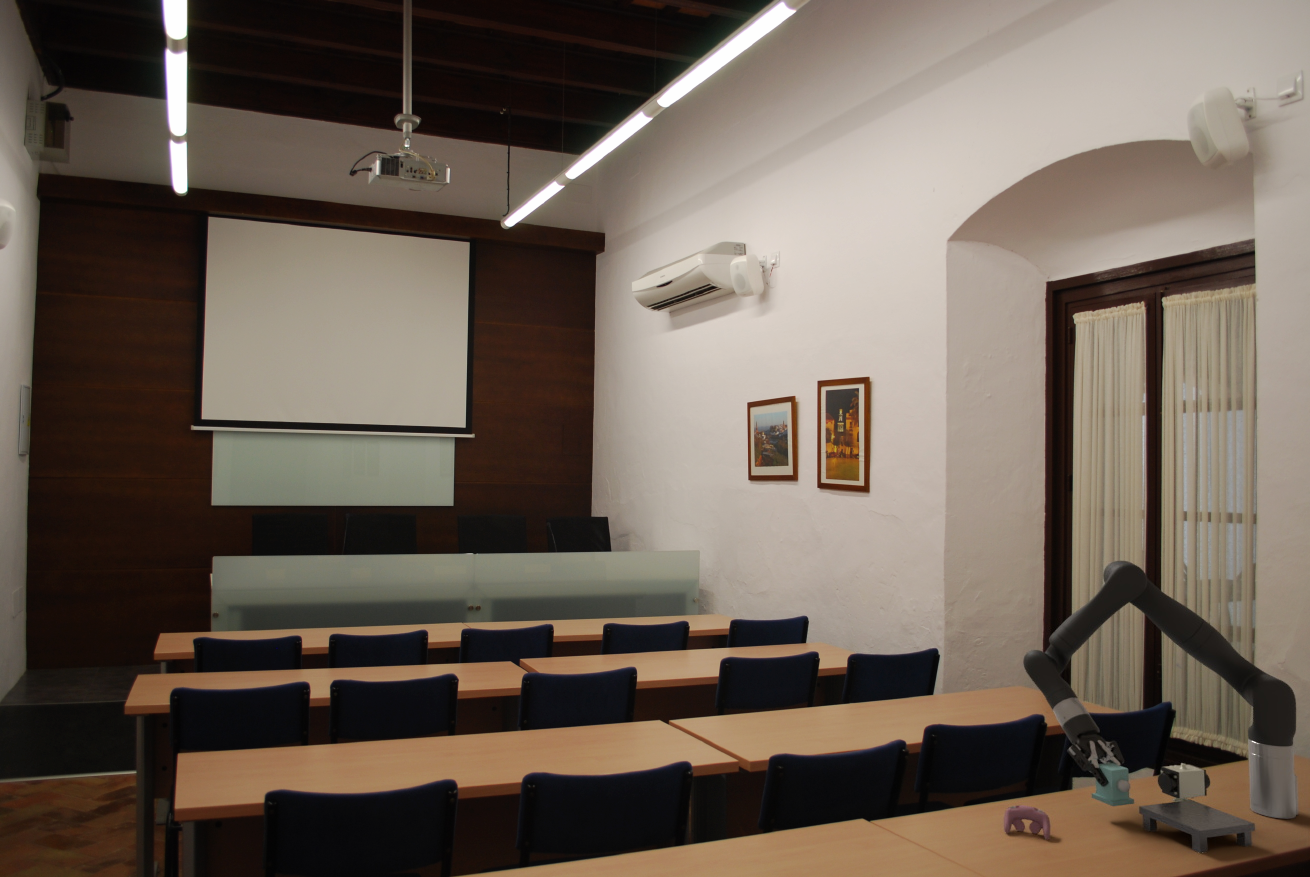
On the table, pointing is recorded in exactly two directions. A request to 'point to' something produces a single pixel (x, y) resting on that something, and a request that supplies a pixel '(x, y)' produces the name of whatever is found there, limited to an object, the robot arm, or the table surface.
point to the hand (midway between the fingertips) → (1115, 783)
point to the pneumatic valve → (1183, 781)
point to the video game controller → (1029, 813)
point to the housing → (1114, 786)
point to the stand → (1197, 822)
